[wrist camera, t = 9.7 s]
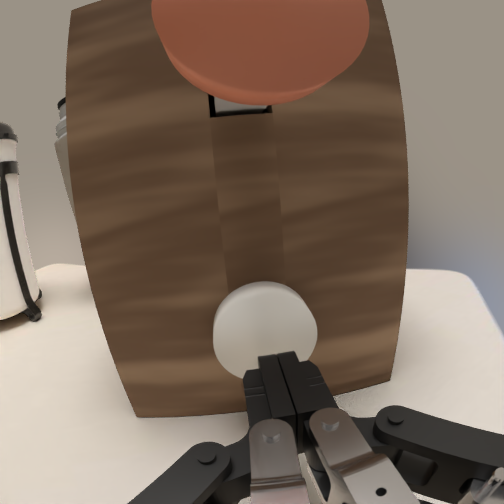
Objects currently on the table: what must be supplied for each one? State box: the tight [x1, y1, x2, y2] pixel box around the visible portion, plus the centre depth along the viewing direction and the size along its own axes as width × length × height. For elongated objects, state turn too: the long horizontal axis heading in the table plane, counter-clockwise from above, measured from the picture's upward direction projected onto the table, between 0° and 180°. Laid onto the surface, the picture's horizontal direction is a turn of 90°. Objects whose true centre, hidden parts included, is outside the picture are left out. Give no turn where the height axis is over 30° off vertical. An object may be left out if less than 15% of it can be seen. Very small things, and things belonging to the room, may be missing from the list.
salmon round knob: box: [151, 0, 369, 117], centre depth 11 cm, size 14×5×5 cm, turn 6°
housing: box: [66, 0, 409, 417], centre depth 21 cm, size 14×18×26 cm
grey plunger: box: [213, 281, 317, 379], centre depth 21 cm, size 14×5×5 cm, turn 6°
